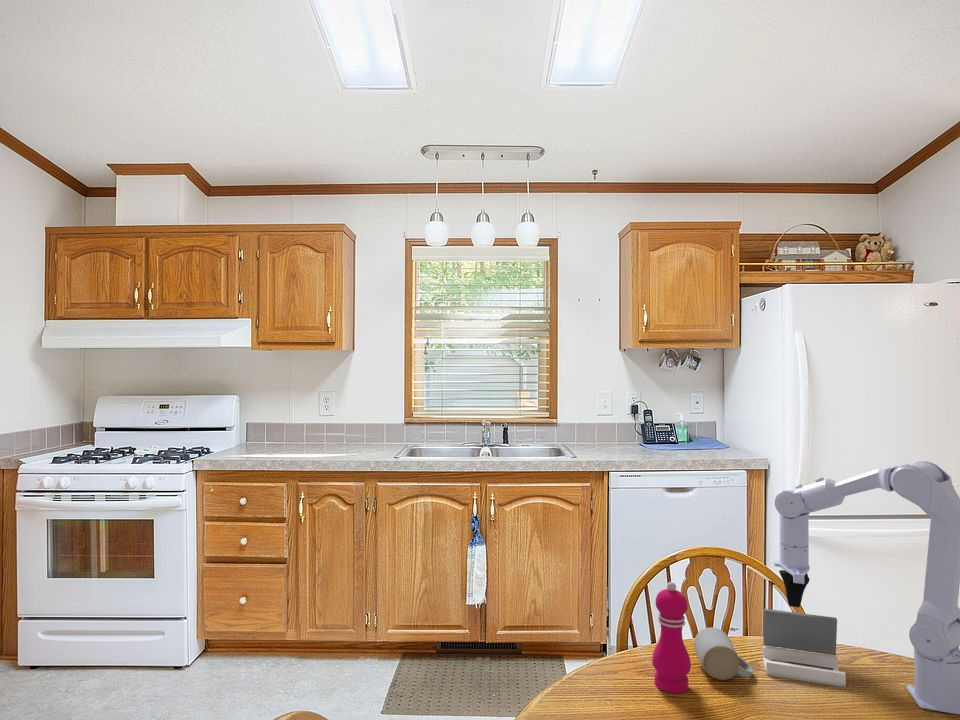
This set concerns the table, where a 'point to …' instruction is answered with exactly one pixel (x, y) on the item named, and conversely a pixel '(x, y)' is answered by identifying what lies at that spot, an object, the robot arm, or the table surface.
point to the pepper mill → (671, 642)
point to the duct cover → (800, 631)
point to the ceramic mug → (719, 655)
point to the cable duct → (803, 666)
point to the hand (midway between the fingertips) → (794, 605)
